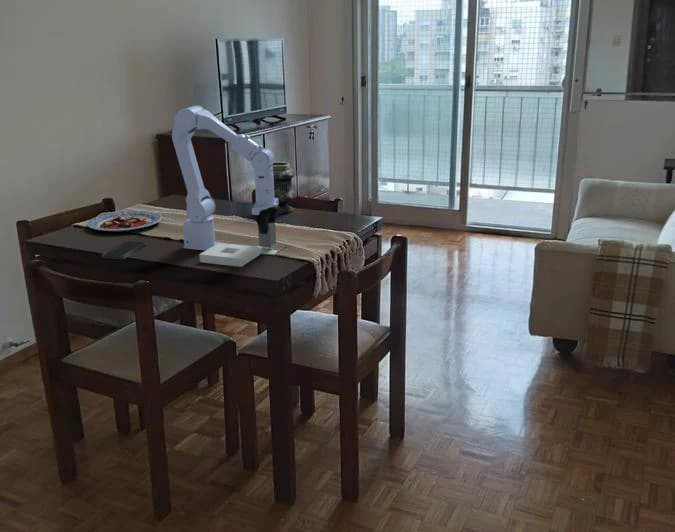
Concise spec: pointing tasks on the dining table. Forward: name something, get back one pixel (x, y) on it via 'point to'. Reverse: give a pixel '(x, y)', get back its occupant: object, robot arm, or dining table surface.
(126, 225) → the ceramic plate
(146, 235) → the dining table surface
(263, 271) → the dining table surface
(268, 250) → the pad
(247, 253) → the white board with hole
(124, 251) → the phone
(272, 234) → the plug
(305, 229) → the dining table surface
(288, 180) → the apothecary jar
